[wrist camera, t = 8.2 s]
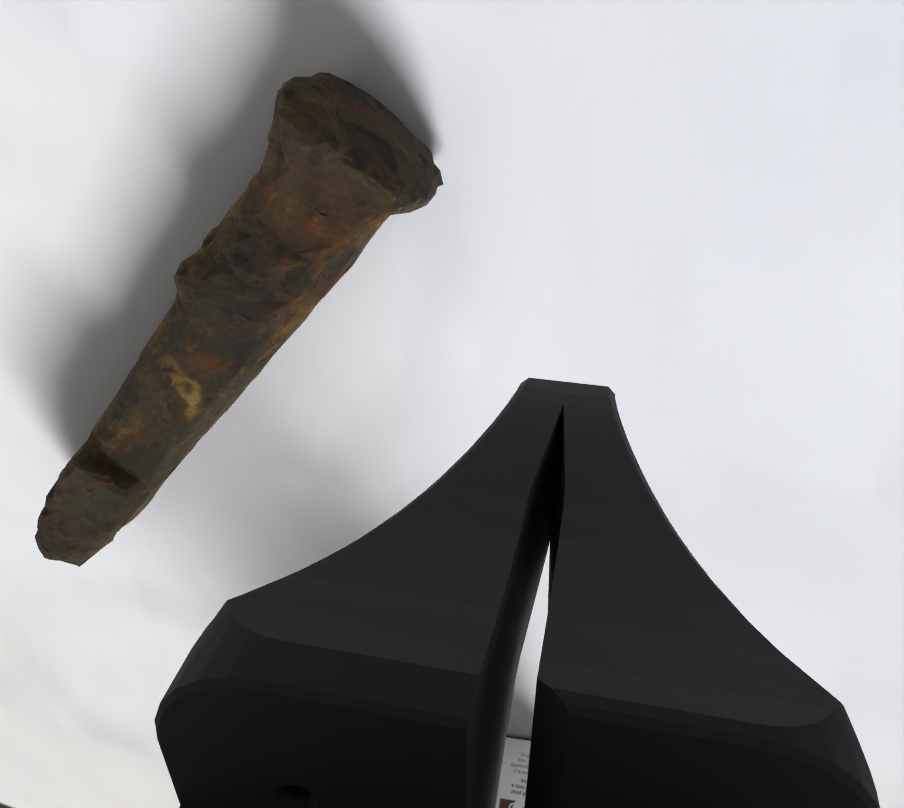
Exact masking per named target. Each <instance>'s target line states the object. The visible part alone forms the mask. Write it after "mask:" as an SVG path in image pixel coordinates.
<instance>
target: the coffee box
mask: <svg viewBox="0 0 904 808" xmlns="http://www.w3.org/2000/svg"><path fill="white" fill-rule="evenodd" d="M530 746H531V741H529V740H522V739H515V738H508V737H506V741H505V748H504V754H503V761H502V767H501V774H500V781H499V787H498V794H497V801H496V807H495V808H524V806H525V796H526V786H527V776H528V766H529V756H530Z"/></svg>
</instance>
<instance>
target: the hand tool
mask: <svg viewBox="0 0 904 808" xmlns="http://www.w3.org/2000/svg"><path fill="white" fill-rule="evenodd" d="M268 139H269V146H268V148H267V151H266V154H265V158H264V161H263V164H262V167H261V168H260V170H259V172H258V173H257V174H256V175H255V177H254V178H253V179H252V180H251V181H250V183H249V185H248V187H247V188H246V190H245V192H244V193H243V194H242V196H241V197H240V199H239V200H238V201H237V202H236V203H235V204H234V205H233V206H232V207H231V209H230V210H229V211H228V213H227V214H226V216H225V218H224V219H223V221H222V222H221V224H220V225H219V226H218V227H216V228H214V229H213V230H212V231H211V232H210V233H209V235H208V236H207V237H206V238H205V239H204V241H203V245H202V248H201V249H199V250H198V251H197V252H196V253H195V254H193V255H192V256H190V257H188V258H187V259H185V260H184V261H182V263H181V264H180V266H179V268H178V270H177V272H176V274H175V276H174V279H175V283H176V287H177V295H176V299H175V301H174V303H173V305H172V307H171V308H170V310H169V311H168V313H167V314H166V316H165V318H164V319H163V321H162V322H161V324H160V326H159V327H158V329H157V330H156V332H155V333H154V335H153V336H152V337H151V339H150V340H149V342H148V343H147V345H146V346H145V348H144V349H143V351H142V352H141V354H140V356H139V359H138V361H137V362H136V364H135V365H134V367H133V368H132V370H131V372H130V373H129V375H128V377H127V378H126V380H125V382H124V383H123V385H122V387H121V388H120V390H119V392H118V394H117V395H116V397H115V398H114V400H113V401H112V402H111V404H110V405H109V407H108V408H107V409H106V411H105V412H104V413H103V415H102V416H101V418H100V419H99V420H98V422H97V424H96V426H95V427H94V429H93V431H92V433H91V435H90V437H89V439H88V440H87V441H86V442H85V444H84V445H83V446H82V447H81V448H80V449H79V450H78V452H77V453H76V454H75V455H74V456H73V457H72V458H71V460H70V461H69V462H68V463H67V465H66V467H65V468H64V469H63V470H62V472H61V473H60V475H59V478H58V480H57V481H56V483H55V484H54V486H53V487H52V489H51V490H50V492H49V493H48V495H47V496H46V502H45V507H44V508H43V510H42V511H41V514H40V516H39V518H38V525H37V528H38V531H37V533H36V535H35V539H36V542H37V545H38V548H39V550H40V551H41V553H42V554H43V556H44V558H47V559H50V560H59V561H63V562H67V563H70V564H74V565H77V566H79V567H80V566H81V565H82V564H84V563H85V562H86V561H87V560H88V559H90V558H91V557H92V556H93V555H95V554H96V553H97V552H98V551H99V550H100V549H102V548H103V547H104V546H106V545H107V544H109V543H110V542H111V541H113V539H114V536H115V535H116V533H117V532H118V531H119V530H120V529H121V528H122V527H123V526H125V525H126V524H128V523H129V522H130V521H132V520H133V519H134V518H135V517H136V516H137V515H138V514H139V513H140V512H141V511H142V510H143V509H144V508H145V507H146V506H147V505H148V504H149V502H150V501H151V500H152V498H153V497H154V495H155V494H156V492H157V491H158V489H159V488H160V487H161V485H162V484H163V483H164V481H165V480H166V479H167V478H168V477H169V475H170V474H171V473H172V472H173V471H174V470H175V469H176V467H177V466H178V465H179V464H180V462H181V461H182V460H183V459H184V457H185V456H186V455H187V454H188V453H189V452H190V451H191V450H192V449H193V447H194V446H195V445H196V443H197V442H198V441H199V440H200V438H201V437H202V436H203V435H204V434H206V433H207V432H208V430H209V429H210V428H211V427H212V426H213V425H214V424H215V422H216V421H217V420H218V419H219V418H220V417H221V416H222V415H223V414H224V413H225V412H226V411H227V410H228V409H229V408H230V406H231V405H232V404H233V403H234V402H235V401H236V400H237V398H238V397H239V396H240V395H241V393H242V392H243V391H244V390H245V388H246V387H247V386H248V385H249V384H250V382H251V381H252V380H253V379H254V378H255V377H256V376H257V375H258V374H259V373H260V372H261V370H262V369H263V368H264V367H265V365H266V364H267V363H268V361H269V360H270V359H271V357H272V356H273V355H274V354H275V353H276V352H277V350H278V349H279V348H280V347H281V346H282V345H283V344H284V343H285V342H286V340H287V339H288V338H289V337H290V336H291V335H292V334H293V333H294V332H295V331H296V329H297V328H298V327H299V326H300V325H301V324H302V323H303V322H304V321H305V319H306V318H307V317H308V315H309V314H310V313H311V311H312V310H313V309H314V307H315V306H316V305H317V303H318V302H319V301H320V300H321V299H322V298H323V297H324V296H325V295H326V294H327V293H328V292H329V291H330V290H331V288H332V287H333V286H334V285H335V284H336V283H337V282H338V280H339V279H340V278H341V277H342V276H343V275H344V274H345V273H346V272H347V271H348V270H349V269H350V268H351V267H352V266H353V264H354V263H355V261H356V260H357V258H358V257H359V255H360V254H361V252H362V251H363V249H364V248H365V246H366V245H367V243H368V242H369V240H370V239H371V238H372V237H373V235H374V234H375V233H376V231H377V230H378V229H379V227H380V226H381V225H382V224H383V222H384V221H385V220H386V219H387V218H388V217H389V216H390V215H394V214H402V213H409V212H412V211H414V210H417V209H419V208H421V207H423V206H426V205H427V204H428V203H429V201H430V200H431V199H432V198H433V196H434V195H435V194H436V190H437V187H438V186H440V185H443V182H442V177H441V173H440V170H439V169H438V168H437V166H436V165H435V164H434V162H433V157H432V153H431V152H430V151H429V150H428V149H427V147H426V146H425V145H424V144H422V143H421V142H420V141H418V140H417V139H416V138H415V137H414V136H413V135H412V134H411V133H410V132H409V131H408V130H407V129H406V128H405V127H404V125H403V124H402V123H401V122H400V120H399V119H398V118H397V117H396V116H395V115H394V114H393V113H392V112H390V111H389V110H388V109H387V108H386V107H384V106H383V105H382V104H381V103H380V102H378V101H377V100H376V99H374V98H373V97H372V96H370V95H369V94H367V93H366V92H364V91H362V90H360V89H359V88H357V87H355V86H354V85H352V84H351V83H349V82H347V81H345V80H343V79H340V78H338V77H336V76H334V75H332V74H330V73H322V72H320V73H318V74H316V75H314V76H312V77H296V76H295V77H294V78H292V79H290V80H289V81H287V82H286V83H284V84H283V87H282V88H281V89H280V90H278V92H277V97H276V103H275V111H274V118H273V123H272V127H271V130H270V132H269V135H268Z"/></svg>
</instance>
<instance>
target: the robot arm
mask: <svg viewBox="0 0 904 808" xmlns="http://www.w3.org/2000/svg"><path fill="white" fill-rule="evenodd" d="M549 542H550V561H549V592H548V616H547V622H546V628H545V634H544V640H543V646H542V652H541V659H540V665H539V671H538V676H537V685H536V695H535V705H534V715H533V726H532V736H531V746H530V756H529V766H528V776H527V786H526V796H525V806H524V808H880V806H879V801H878V796H877V792H876V788H875V785H874V782H873V779H872V775H871V772H870V770H869V767H868V764H867V762H866V759H865V756H864V754H863V751H862V749H861V746H860V743H859V741H858V738H857V736H856V734H855V731H854V729H853V727H852V724H851V722H850V719H849V717H848V715H847V713H846V710H845V708H844V706H843V705H842V703H841V702H840V701H838V700H837V699H836V698H835V697H834V696H832V695H831V694H830V693H829V692H828V691H826V690H825V689H824V688H823V687H822V686H820V685H819V684H818V683H817V682H816V681H814V680H813V679H812V678H811V677H810V676H808V675H807V674H806V673H805V672H804V671H802V670H801V669H800V668H799V667H798V666H796V665H795V664H794V663H793V662H792V661H790V660H789V659H788V658H787V657H785V656H784V655H783V654H782V653H781V652H780V651H779V650H778V649H777V648H775V647H774V646H773V645H772V644H771V643H770V642H769V641H768V640H767V639H766V638H765V637H764V636H763V635H762V634H761V633H760V632H759V631H758V630H757V629H756V628H755V627H754V626H753V625H752V624H751V623H750V622H749V621H748V620H747V619H746V618H745V617H744V616H743V615H742V614H741V613H740V611H739V610H738V609H737V608H736V607H735V606H734V605H733V604H732V603H731V601H730V600H729V599H728V598H727V597H726V596H725V595H724V594H723V593H722V591H721V590H720V589H719V588H718V587H717V586H716V585H715V584H714V582H713V581H712V580H711V579H710V577H709V576H708V575H707V574H706V572H705V571H704V570H703V568H702V567H701V566H700V565H699V563H698V562H697V561H696V559H695V558H694V557H693V555H692V554H691V553H690V551H689V550H688V548H687V547H686V545H685V544H684V543H683V541H682V540H681V538H680V537H679V536H678V534H677V532H676V531H675V529H674V528H673V526H672V525H671V523H670V522H669V520H668V518H667V517H666V515H665V513H664V512H663V510H662V508H661V507H660V505H659V503H658V501H657V500H656V498H655V496H654V494H653V492H652V491H651V489H650V487H649V485H648V483H647V481H646V479H645V477H644V475H643V473H642V471H641V469H640V467H639V464H638V462H637V460H636V458H635V456H634V454H633V451H632V449H631V447H630V444H629V442H628V439H627V437H626V434H625V431H624V428H623V426H622V423H621V420H620V417H619V413H618V410H617V405H616V401H615V394H614V393H613V392H612V390H611V389H610V388H609V387H606V386H597V385H588V384H579V383H571V382H562V381H553V380H544V379H535V378H528V379H526V380H525V381H524V382H522V383H521V384H520V386H519V388H518V389H517V391H516V392H515V394H514V395H513V397H512V398H511V400H510V401H509V403H508V404H507V405H506V407H505V408H504V409H503V410H502V412H501V413H500V414H499V415H498V417H497V418H496V419H495V421H494V422H493V423H492V424H491V425H490V426H489V428H488V429H487V430H486V431H485V432H484V433H483V434H482V435H481V437H480V438H479V439H478V440H477V441H476V442H475V443H474V445H473V446H472V447H471V448H470V449H469V450H468V451H467V452H466V453H465V454H464V455H463V456H462V457H461V458H460V459H459V460H458V461H457V462H456V463H455V464H454V465H453V466H452V467H451V468H450V469H449V470H448V471H447V472H446V473H445V474H444V475H443V476H442V477H440V478H439V479H438V480H437V481H436V482H435V483H434V484H433V485H431V486H430V487H429V488H428V489H427V490H426V491H424V492H423V493H422V494H421V495H420V496H418V497H417V498H416V499H415V500H413V501H412V502H411V503H410V504H408V505H407V506H406V507H404V508H403V509H402V510H400V511H399V512H398V513H396V514H395V515H394V516H392V517H391V518H389V519H388V520H386V521H385V522H383V523H382V524H381V525H379V526H378V527H376V528H375V529H373V530H372V531H370V532H369V533H367V534H366V535H364V536H363V537H361V538H359V539H358V540H356V541H355V542H353V543H351V544H350V545H348V546H346V547H344V548H342V549H341V550H339V551H337V552H335V553H333V554H331V555H330V556H328V557H326V558H324V559H322V560H320V561H318V562H316V563H314V564H312V565H310V566H308V567H306V568H304V569H302V570H300V571H298V572H295V573H293V574H291V575H289V576H286V577H284V578H282V579H279V580H277V581H274V582H272V583H270V584H267V585H265V586H262V587H260V588H257V589H255V590H253V591H250V592H248V593H245V594H243V595H240V596H238V597H235V598H232V599H229V600H228V601H226V603H225V604H224V605H223V607H222V608H221V610H220V611H219V612H218V614H217V615H216V616H215V618H214V619H213V620H212V622H211V623H210V624H209V625H208V626H207V628H206V629H205V630H204V632H203V633H202V635H201V636H200V637H199V639H198V640H197V642H196V643H195V645H194V646H193V648H192V649H191V651H190V653H189V654H188V656H187V658H186V659H185V661H184V663H183V665H182V666H181V668H180V670H179V672H178V673H177V675H176V677H175V678H174V680H173V682H172V684H171V685H170V687H169V689H168V690H167V692H166V694H165V696H164V697H163V699H162V701H161V702H160V705H159V708H158V711H157V714H156V717H155V725H156V732H157V739H158V742H159V745H160V748H161V751H162V753H163V756H164V759H165V762H166V765H167V768H168V771H169V773H170V776H171V779H172V782H173V785H174V788H175V791H176V794H177V796H178V799H179V802H180V805H181V806H180V808H495V807H496V801H497V794H498V787H499V781H500V774H501V767H502V761H503V754H504V748H505V741H506V735H507V728H508V722H509V715H510V709H511V702H512V696H513V689H514V683H515V678H516V673H517V669H518V664H519V659H520V655H521V651H522V647H523V643H524V640H525V636H526V632H527V628H528V624H529V620H530V616H531V612H532V609H533V605H534V601H535V597H536V593H537V589H538V585H539V582H540V578H541V574H542V570H543V566H544V562H545V558H546V554H547V550H548V546H549Z"/></svg>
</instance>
